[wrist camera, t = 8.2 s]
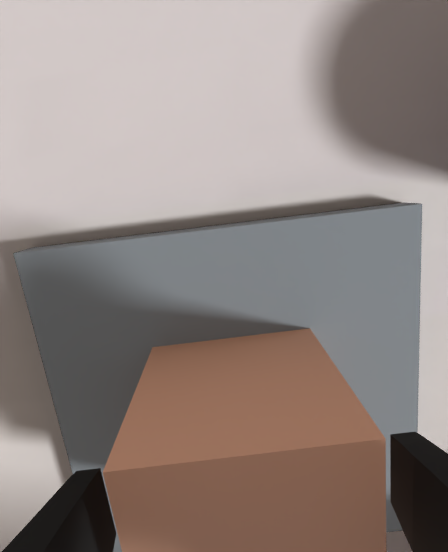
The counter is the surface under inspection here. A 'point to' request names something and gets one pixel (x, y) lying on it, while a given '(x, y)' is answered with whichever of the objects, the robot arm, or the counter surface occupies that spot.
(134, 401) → the terracotta block
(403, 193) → the counter surface
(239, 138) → the counter surface
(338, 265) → the mat
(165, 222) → the counter surface
